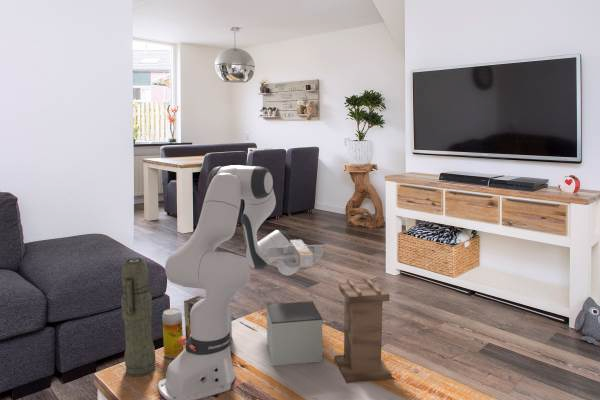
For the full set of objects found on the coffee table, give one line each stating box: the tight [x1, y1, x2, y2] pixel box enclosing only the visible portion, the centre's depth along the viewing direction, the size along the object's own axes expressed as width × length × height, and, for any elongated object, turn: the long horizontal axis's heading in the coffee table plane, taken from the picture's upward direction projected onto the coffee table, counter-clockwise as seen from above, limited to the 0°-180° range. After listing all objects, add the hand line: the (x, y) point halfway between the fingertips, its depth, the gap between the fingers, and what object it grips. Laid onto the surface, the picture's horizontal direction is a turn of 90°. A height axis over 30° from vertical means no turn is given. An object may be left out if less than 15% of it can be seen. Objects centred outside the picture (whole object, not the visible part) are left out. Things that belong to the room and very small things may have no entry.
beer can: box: [161, 308, 184, 359], centre depth 155 cm, size 6×6×15 cm
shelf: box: [266, 300, 323, 367], centre depth 156 cm, size 15×16×14 cm
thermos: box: [120, 257, 156, 377], centre depth 144 cm, size 9×12×35 cm
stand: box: [333, 277, 393, 384], centre depth 144 cm, size 14×14×27 cm
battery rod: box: [290, 239, 314, 268], centre depth 157 cm, size 21×4×4 cm, turn 11°
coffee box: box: [183, 295, 205, 340], centre depth 161 cm, size 9×6×16 cm
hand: (297, 246), depth 162 cm, fingers closed on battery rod, 4 cm apart
